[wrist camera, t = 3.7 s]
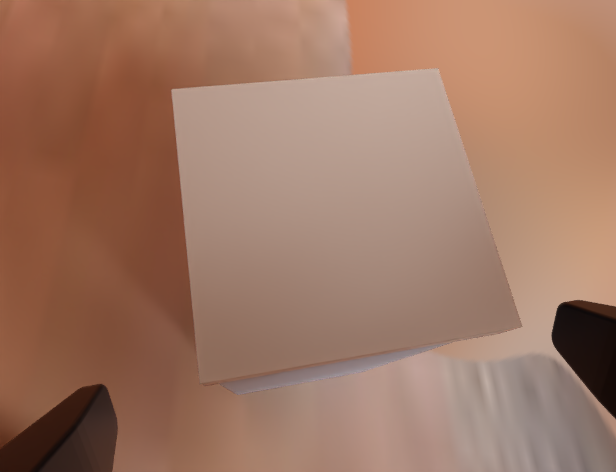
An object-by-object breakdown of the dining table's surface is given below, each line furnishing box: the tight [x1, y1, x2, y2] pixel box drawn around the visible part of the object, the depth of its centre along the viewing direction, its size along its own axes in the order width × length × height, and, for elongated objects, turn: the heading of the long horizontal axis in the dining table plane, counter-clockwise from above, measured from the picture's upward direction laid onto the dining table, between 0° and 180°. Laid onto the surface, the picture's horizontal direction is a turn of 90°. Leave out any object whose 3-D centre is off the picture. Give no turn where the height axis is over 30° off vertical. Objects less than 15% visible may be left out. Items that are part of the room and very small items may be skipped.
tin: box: [171, 68, 522, 395], centre depth 14 cm, size 5×5×12 cm
